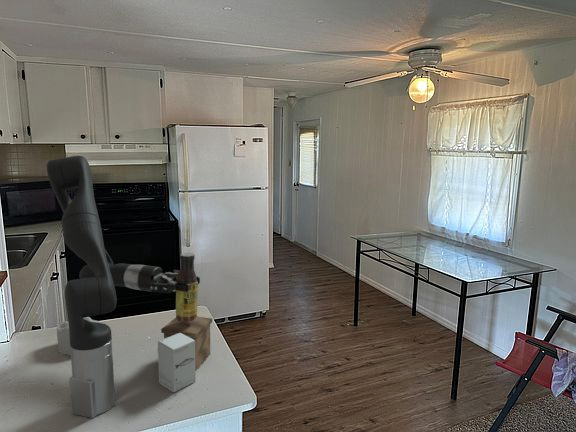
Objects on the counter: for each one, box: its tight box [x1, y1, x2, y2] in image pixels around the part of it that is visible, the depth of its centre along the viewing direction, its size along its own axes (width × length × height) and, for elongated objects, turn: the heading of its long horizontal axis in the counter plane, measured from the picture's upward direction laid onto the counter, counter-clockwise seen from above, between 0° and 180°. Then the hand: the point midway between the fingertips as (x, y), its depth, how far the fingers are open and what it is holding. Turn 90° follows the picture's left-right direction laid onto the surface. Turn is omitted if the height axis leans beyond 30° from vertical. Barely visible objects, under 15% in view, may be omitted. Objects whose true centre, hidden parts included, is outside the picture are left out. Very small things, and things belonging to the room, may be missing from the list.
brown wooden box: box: [160, 316, 213, 372], centre depth 124 cm, size 11×11×12 cm
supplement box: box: [157, 333, 196, 394], centre depth 113 cm, size 7×7×13 cm
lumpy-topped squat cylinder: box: [56, 316, 101, 356], centre depth 131 cm, size 10×13×9 cm
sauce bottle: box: [175, 252, 199, 322], centre depth 121 cm, size 6×6×20 cm
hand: (194, 284), depth 120 cm, fingers closed on sauce bottle, 6 cm apart
